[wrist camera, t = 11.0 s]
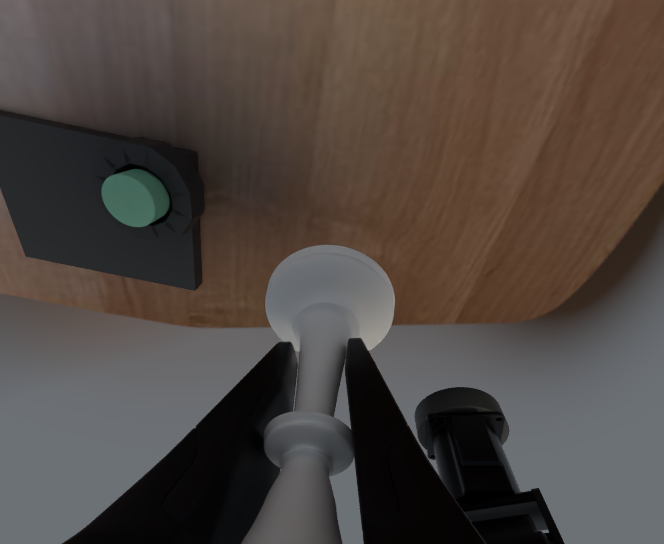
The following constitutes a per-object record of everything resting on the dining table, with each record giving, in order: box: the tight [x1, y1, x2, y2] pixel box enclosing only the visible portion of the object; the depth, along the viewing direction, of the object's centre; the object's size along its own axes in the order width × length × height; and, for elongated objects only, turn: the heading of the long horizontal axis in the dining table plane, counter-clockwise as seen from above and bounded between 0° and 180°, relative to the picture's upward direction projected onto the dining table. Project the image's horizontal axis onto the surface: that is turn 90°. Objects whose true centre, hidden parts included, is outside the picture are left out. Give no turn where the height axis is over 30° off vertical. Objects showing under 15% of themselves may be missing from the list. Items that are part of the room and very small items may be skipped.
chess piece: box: [241, 245, 395, 544], centre depth 7 cm, size 5×5×10 cm
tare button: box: [102, 169, 170, 227], centre depth 17 cm, size 3×3×2 cm
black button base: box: [0, 110, 205, 290], centre depth 20 cm, size 14×10×3 cm
